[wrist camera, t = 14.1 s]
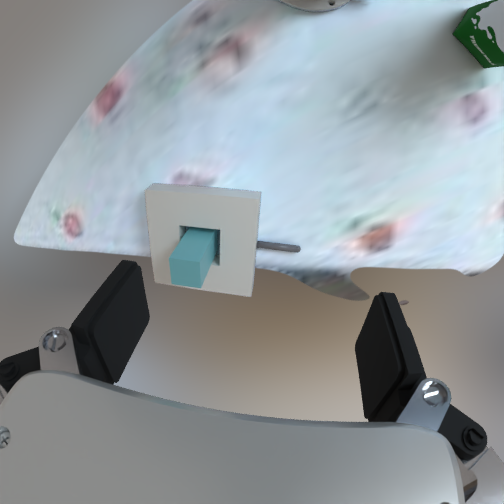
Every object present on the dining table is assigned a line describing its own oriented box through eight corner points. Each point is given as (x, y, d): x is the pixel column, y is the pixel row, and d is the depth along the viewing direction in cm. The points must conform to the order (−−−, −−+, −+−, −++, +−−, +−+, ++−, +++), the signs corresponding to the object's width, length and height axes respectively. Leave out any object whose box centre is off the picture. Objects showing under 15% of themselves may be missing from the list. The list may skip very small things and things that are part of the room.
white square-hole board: (308, 197, 40) (309, 205, 37) (292, 290, 48) (292, 301, 46) (153, 183, 42) (144, 189, 39) (161, 272, 50) (154, 282, 47)
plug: (217, 225, 44) (199, 262, 35) (217, 249, 46) (200, 288, 38) (191, 223, 44) (168, 258, 36) (192, 246, 46) (171, 284, 38)
